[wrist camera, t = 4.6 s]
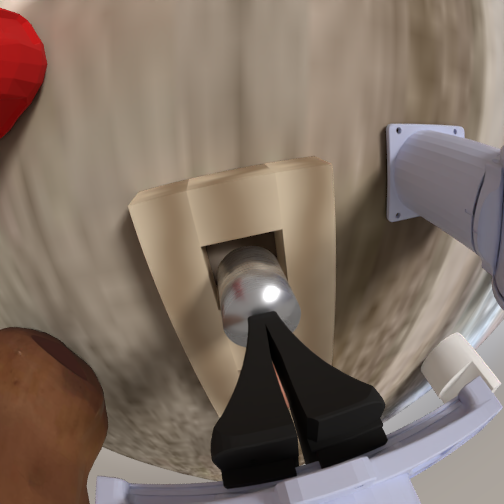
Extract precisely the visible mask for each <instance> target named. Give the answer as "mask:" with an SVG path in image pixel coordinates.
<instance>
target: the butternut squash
mask: <svg viewBox="0 0 504 504" xmlns="http://www.w3.org/2000/svg"><path fill="white" fill-rule="evenodd" d="M107 430H108V417H107V413H106V407H105V400H104V393H103V389H102V387H101V385H100V383H99V381H98V379H97V377H96V375H95V373H94V371H93V370H92V369H91V367H90V366H89V365H88V364H87V363H86V362H84V361H83V360H82V359H81V358H79V357H78V356H77V355H75V354H74V353H73V352H72V351H71V350H69V349H68V348H67V347H66V346H65V345H64V343H63V342H61V341H60V340H58V339H57V338H55V337H53V336H51V335H49V334H47V333H45V332H39V331H36V330H32V329H26V328H19V327H9V328H4V329H1V330H0V504H90V503H89V498H88V493H87V486H86V485H87V478H88V475H89V472H90V470H91V468H92V466H93V463H94V461H95V460H96V458H97V456H98V454H99V452H100V450H101V448H102V445H103V443H104V440H105V438H106V435H107Z"/></svg>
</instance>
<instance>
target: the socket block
mask: <svg viewBox="0 0 504 504" xmlns="http://www.w3.org/2000/svg"><path fill="white" fill-rule="evenodd" d="M128 208H129V211H130V215H131V218H132V221H133V224H134V227H135V230H136V233H137V236H138V239H139V241H140V244H141V247H142V250H143V253H144V255H145V258H146V261H147V264H148V266H149V269H150V272H151V274H152V277H153V279H154V282H155V284H156V287H157V289H158V292H159V294H160V297H161V299H162V302H163V304H164V306H165V309H166V311H167V313H168V316H169V318H170V320H171V322H172V325H173V327H174V329H175V331H176V334H177V336H178V338H179V340H180V342H181V344H182V347H183V349H184V351H185V353H186V355H187V357H188V359H189V361H190V363H191V365H192V367H193V369H194V371H195V373H196V375H197V377H198V379H199V381H200V383H201V385H202V387H203V389H204V390H205V392H206V394H207V396H208V398H209V400H210V402H211V403H212V405H213V407H214V409H215V411H216V412H217V414H218V416H219V418H220V417H221V415H222V414H223V412H224V410H225V408H226V406H227V404H228V402H229V400H230V398H231V396H232V394H233V392H234V389H235V386H236V384H237V381H238V378H239V375H240V372H241V369H242V365H243V361H244V356H245V352H246V347H242V346H239V345H237V344H235V343H234V342H232V341H231V340H230V339H229V338H228V337H227V336H226V334H225V332H224V329H223V323H222V315H221V306H220V298H219V289H218V286H216V284H215V280H214V277H213V273H212V269H211V266H210V262H209V258H208V254H207V251H206V247H205V246H206V245H211V244H215V243H220V242H225V241H229V240H234V239H239V238H243V237H248V236H253V235H257V234H262V233H267V232H271V231H274V237H275V244H276V252H277V260H278V262H279V264H280V266H281V269H282V271H283V273H284V275H285V277H286V279H287V281H288V283H289V285H290V287H291V289H292V291H293V293H294V295H295V297H296V299H297V301H298V303H299V306H300V309H301V318H300V321H299V324H298V326H297V328H296V329H295V331H294V332H293V334H294V335H295V336H296V337H297V338H298V339H299V340H300V341H301V342H302V343H303V344H304V345H305V346H306V347H308V348H309V349H310V350H311V351H312V352H313V353H315V354H316V355H317V356H319V357H320V358H321V359H323V360H324V361H325V362H327V363H328V364H330V365H331V366H332V354H333V340H334V321H335V294H336V227H335V199H334V181H333V166H332V164H331V163H328V162H326V161H324V160H321V159H319V158H317V157H315V156H312V157H305V158H298V159H291V160H284V161H278V162H272V163H266V164H260V165H255V166H249V167H244V168H239V169H233V170H228V171H223V172H219V173H214V174H209V175H205V176H200V177H196V178H191V179H187V180H183V181H179V182H175V183H171V184H167V185H163V186H159V187H155V188H151V189H148V190H144V191H140V192H138V193H137V195H136V196H135V197H134V199H133V200H132V201H131V203H130V204H129V205H128ZM272 363H273V362H272Z"/></svg>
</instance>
